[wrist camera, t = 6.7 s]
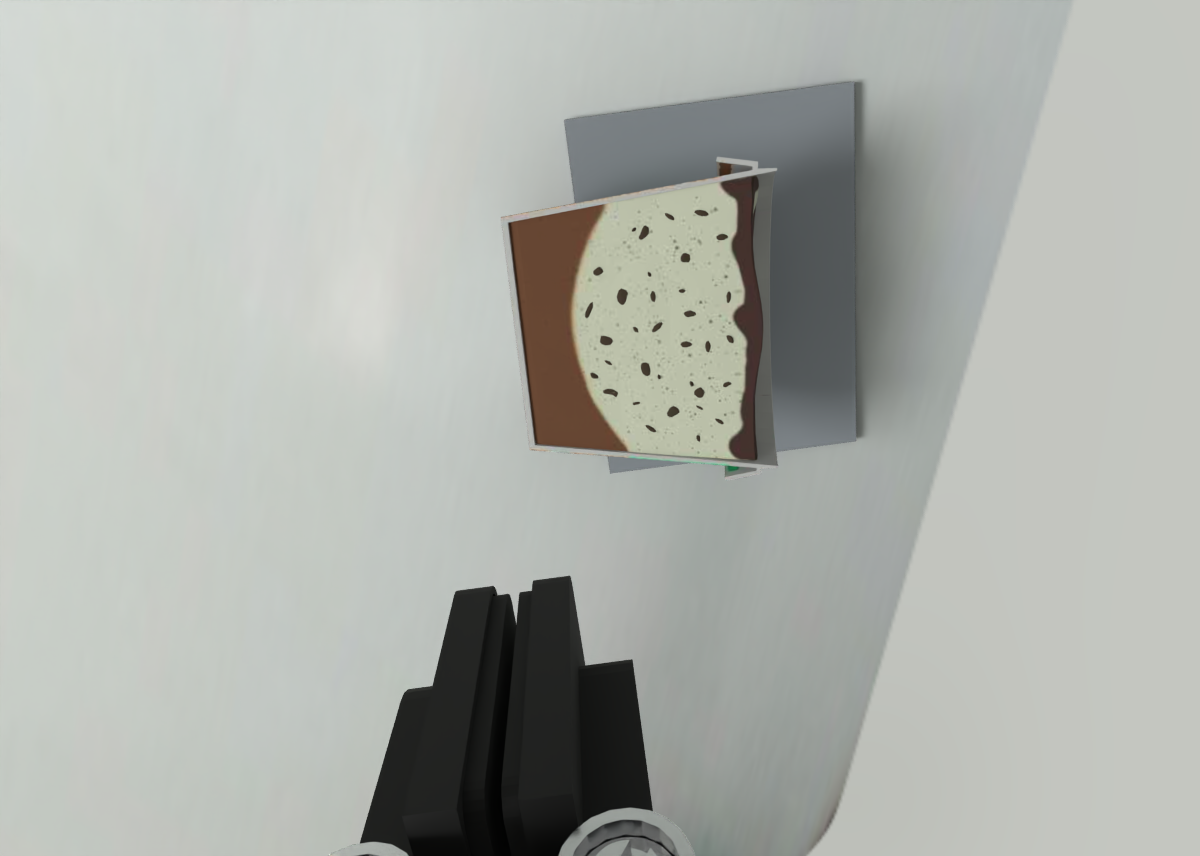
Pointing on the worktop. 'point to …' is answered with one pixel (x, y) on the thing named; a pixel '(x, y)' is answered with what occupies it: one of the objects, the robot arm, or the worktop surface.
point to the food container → (650, 322)
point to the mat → (797, 240)
